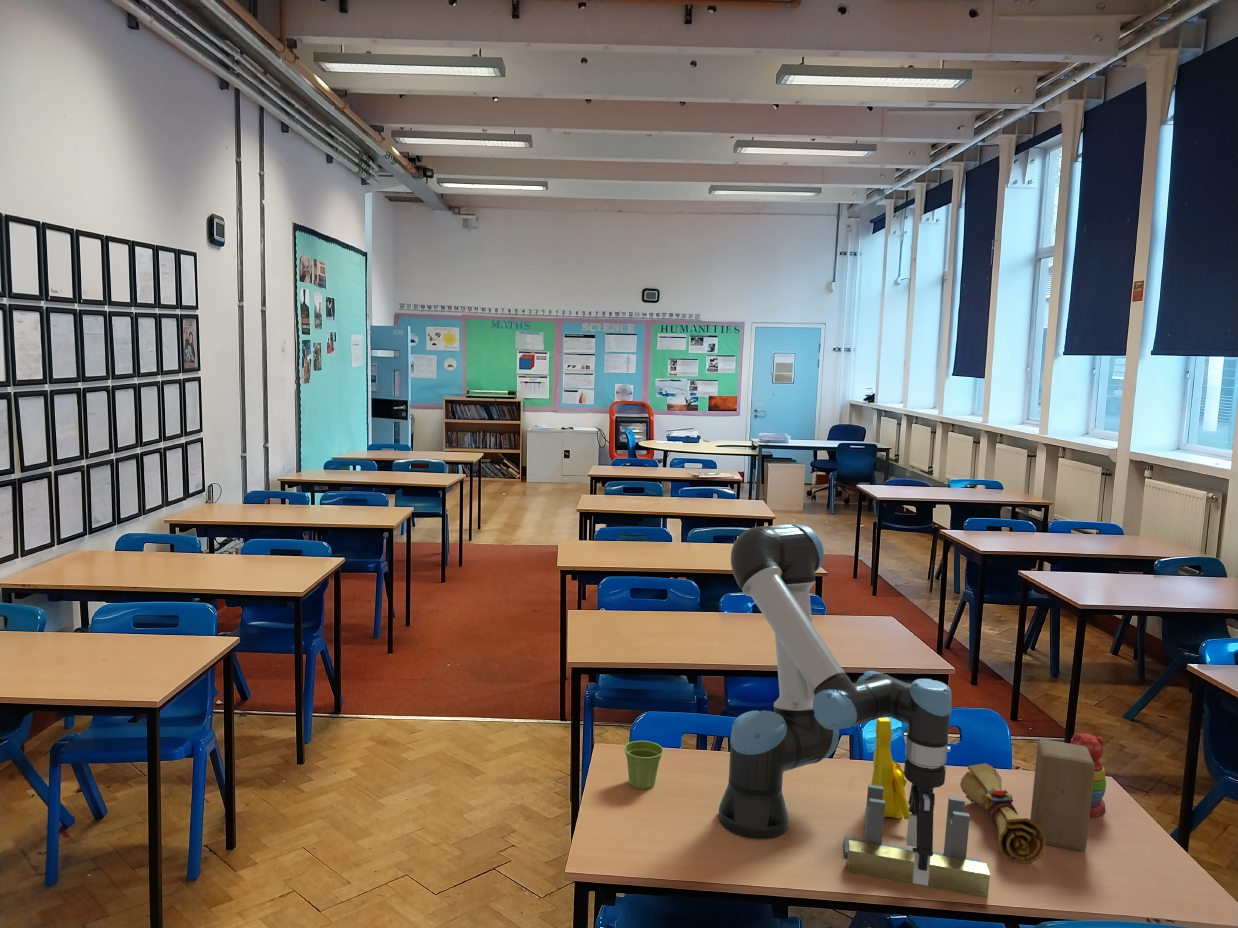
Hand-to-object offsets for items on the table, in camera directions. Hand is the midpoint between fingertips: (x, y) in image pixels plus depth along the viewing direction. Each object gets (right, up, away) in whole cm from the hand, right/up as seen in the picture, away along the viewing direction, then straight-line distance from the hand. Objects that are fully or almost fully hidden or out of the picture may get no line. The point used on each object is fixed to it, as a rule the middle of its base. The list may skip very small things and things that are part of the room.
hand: (916, 863), depth 168 cm
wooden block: (+37, -3, +19) cm, 42 cm away
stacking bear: (+50, -2, +33) cm, 60 cm away
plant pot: (-53, +3, +35) cm, 64 cm away
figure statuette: (+2, -1, +26) cm, 27 cm away
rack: (+2, -3, +7) cm, 8 cm away
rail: (0, -4, 0) cm, 4 cm away
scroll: (+25, -3, +20) cm, 32 cm away
